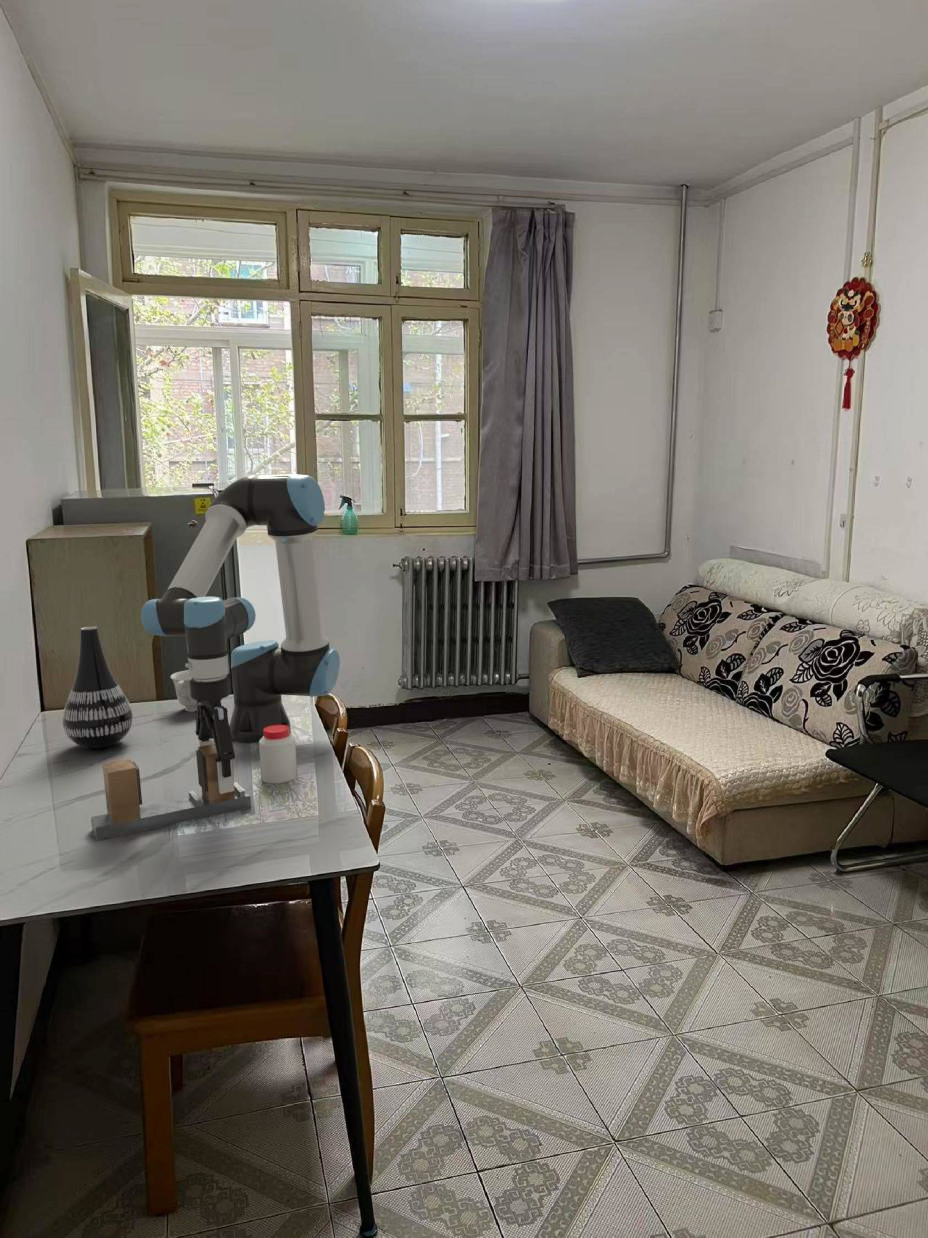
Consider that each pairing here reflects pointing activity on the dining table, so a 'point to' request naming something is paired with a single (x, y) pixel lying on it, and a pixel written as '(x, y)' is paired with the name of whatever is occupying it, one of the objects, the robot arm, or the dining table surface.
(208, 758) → the brown wooden block
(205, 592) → the robot arm
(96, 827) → the rail
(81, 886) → the dining table surface
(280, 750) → the pill bottle
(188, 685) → the teacup
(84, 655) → the vase
